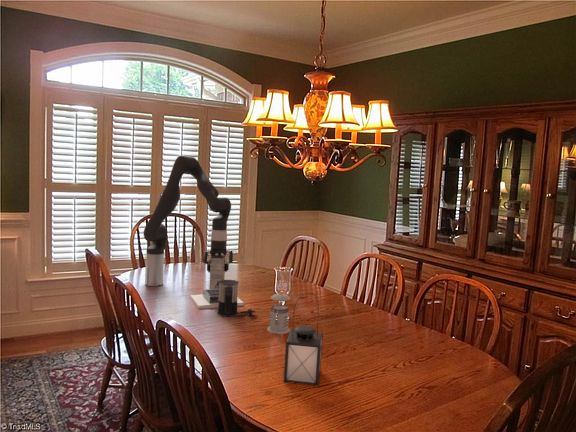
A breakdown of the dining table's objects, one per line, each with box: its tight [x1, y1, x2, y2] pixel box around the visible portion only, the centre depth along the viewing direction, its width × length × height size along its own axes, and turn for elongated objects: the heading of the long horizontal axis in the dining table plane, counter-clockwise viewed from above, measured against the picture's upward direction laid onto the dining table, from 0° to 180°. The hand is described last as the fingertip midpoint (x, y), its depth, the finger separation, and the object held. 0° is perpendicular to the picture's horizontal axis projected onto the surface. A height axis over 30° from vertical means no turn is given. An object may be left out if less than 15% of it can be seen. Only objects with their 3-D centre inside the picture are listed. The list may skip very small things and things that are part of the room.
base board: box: [189, 293, 245, 310], centre depth 230 cm, size 22×18×2 cm
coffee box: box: [208, 255, 226, 290], centre depth 228 cm, size 9×6×16 cm
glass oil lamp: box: [266, 270, 291, 335], centre depth 193 cm, size 10×12×25 cm
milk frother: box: [216, 279, 256, 317], centre depth 211 cm, size 14×16×15 cm
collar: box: [202, 289, 219, 303], centre depth 229 cm, size 10×14×3 cm
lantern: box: [283, 292, 324, 386], centre depth 151 cm, size 11×11×28 cm
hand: (217, 271), depth 228 cm, fingers closed on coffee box, 8 cm apart
